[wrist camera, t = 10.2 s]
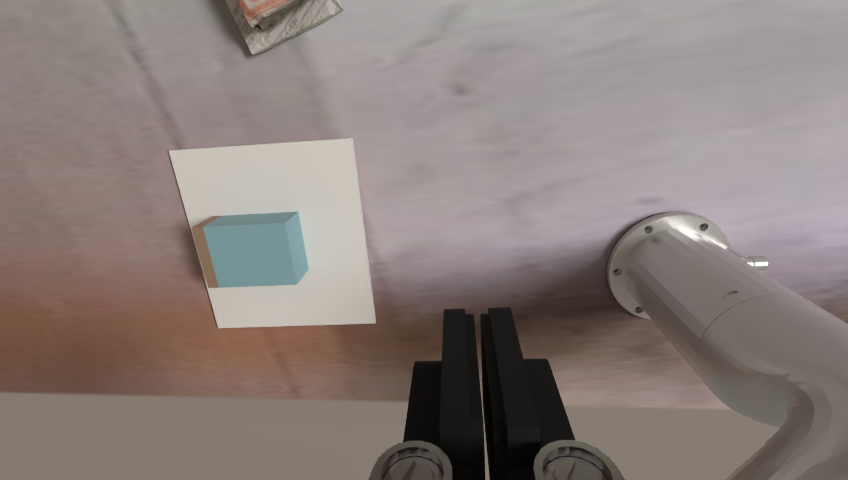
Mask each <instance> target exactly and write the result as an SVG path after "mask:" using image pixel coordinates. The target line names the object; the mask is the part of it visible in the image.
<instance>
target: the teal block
mask: <svg viewBox="0 0 848 480" xmlns="http://www.w3.org/2000/svg"><path fill="white" fill-rule="evenodd" d="M192 231H193V234H194V238H195V241H196V245H197V249H198V252H199V256H200V259H201V263H202V267H203V270H204V274H205V277H206V281H207V285H208V288H223V287H250V286H276V285H297V284H298V283H299V281H300V280H301V279H302V278H303V276H304V275H305V274H306V272H307V271H308V270H309V267H308V262H307V256H306V251H305V245H304V240H303V235H302V229H301V224H300V218H299V213H298V212H281V213H262V214H244V215H225V216H212V217H210V218H208V219H206V220H204V221H203V222H201V223H199V224H197V225H195V226H194V227H192Z"/></svg>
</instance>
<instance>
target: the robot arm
mask: <svg viewBox="0 0 848 480" xmlns="http://www.w3.org/2000/svg"><path fill="white" fill-rule="evenodd" d="M700 225H701V226H700ZM646 226H647V228H646V229H645V227H646ZM767 266H768V262H767V259H766V258H765V257H764V256H752V257H743V256H741V255H740V254H738V253H737V252H735V251H733V250H732V249H731V246H730V243H729V241H728V239H727V237H726V235H725V234H724V233H723V232H722V230H721V229H720V228H719V227H718V226H716V225H715V224H714V223H712V222H711V221H709V220H707V219H705V218H703V217H701V216H698V215H695V214H692V213H686V212H667V213H662V214H658V215H654V216H652V217H649V218H647V219H644V220H643V221H641V222H639V223H638V224H636V225H634V226H633V227H632V228H631V229H629V230H628V231H627V232H626V233H625V234H624V235H623V236H622V237H621V238H620V240H619V241H618V242H617V243H616V245H615V247H614V249H613V250H612V252H611V255H610V258H609V261H608V266H607V280H608V284H609V287H610V290H611V292H612V294H613V295H614V297H615V299H616V300H617V301H618V302H619V303H620V305H621V306H622V307H624V308H625V309H626V310H627V311H628V312H630V313H632V314H634V315H636V316H638V317H641V318H645V319H649V320H652V321H653V322H654V323H655V324H656V326H657V327H658V328H659V329H660V330H661V332H662V333H663V334H664V335H665V336H666V338H667V339H668V340H669V341H670V342H671V344H672V345H673V346H674V347H675V348H676V350H677V351H678V352H679V353H680V354H681V356H682V357H683V358H684V359H685V360H686V361H687V363H688V364H689V365H690V366H691V367H692V369H693V370H694V371H695V372H696V373H697V375H698V376H699V377H700V378H701V379H702V381H703V382H704V383H705V384H706V385H707V386H708V388H709V389H710V390H711V391H712V392H713V393H714V394H715V395H716V396H717V397H718V398H719V399H720V400H721V401H722V402H723V403H724V404H726V405H727V406H728V407H730V408H731V409H732V410H734V411H736V412H738V413H740V414H742V415H743V416H745V417H747V418H749V419H752V420H755V421H758V422H760V423H763V424H766V425H769V426H773V427H777V428H780V429H779V430H778V431H777V432H776V433H775V434H774V435H773V436H772V437H771V438H770V439H769V440H767V441H766V443H765V445H764V446H763V447H762V448H760V449H759V450H758V451H757V452H756V453H755V454H754V455H753V456H751V457H750V458H749V459H748V460H747V461H746V462H744V463H743V464H742V465H741V466H740V467H739V468H738V469H736V470H735V471H734V472H733V473H732V474H731V475H730V476H728V477H727V478H726V479H725V480H848V324H847V323H846V322H844V321H842V320H840V319H839V318H837V317H835V316H834V315H832V314H830V313H829V312H827V311H825V310H824V309H822V308H820V307H819V306H817V305H815V304H814V303H812V302H810V301H808V300H807V299H805V298H804V297H802V296H800V295H799V294H797V293H795V292H794V291H792V290H791V289H789V288H787V287H786V286H784V285H782V284H781V283H779V282H778V281H776V280H775V278H774V277H773V276H770V275H766V274H765V273H763V272H761V271H760V270H764V269H766V268H767ZM615 269H616V270H615ZM614 270H615V271H614ZM480 324H481V356H482V388H483V410H484V421H485V432H486V443H487V454H488V465H489V476H490V480H625V479H624V477H623V476H622V474H621V472H620V471H619V469H618V467H617V466H616V465H615V464H614V462H613V461H612V460H611V459H610V457H608V456H607V455H606V454H604V453H603V452H602V451H601V450H599V449H598V448H596V447H593V446H591V445H589V444H587V443H584V442H580V441H575V438H574V435H573V432H572V430H571V427H570V423H569V420H568V417H567V414H566V412H565V409H564V406H563V403H562V400H561V397H560V394H559V391H558V388H557V385H556V382H555V379H554V376H553V373H552V370H551V367H550V365H549V362H548V360H547V359H523V356H522V352H521V348H520V344H519V340H518V336H517V332H516V328H515V324H514V321H513V317H512V313H511V309H510V307H506V308H488V314H480ZM369 480H485V455H484V430H483V415H482V403H481V392H480V381H479V369H478V358H477V346H476V335H475V324H474V314H465V309H444V322H443V347H442V361H415V363H414V368H413V375H412V383H411V390H410V397H409V404H408V412H407V419H406V426H405V433H404V440H403V443H399V444H396V445H395V446H393V447H391V448H389V449H387V450H386V451H385V452H384V453H383V454H382V455H381V456H380V457H379V458H378V460H377V462H376V463H375V465H374V467H373V469H372V472H371V475H370V477H369Z"/></svg>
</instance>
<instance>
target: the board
mask: <svg viewBox="0 0 848 480" xmlns="http://www.w3.org/2000/svg"><path fill="white" fill-rule="evenodd" d="M169 154H170V157H171V161H172V164H173V168H174V172H175V175H176V179H177V182H178V186H179V189H180V193H181V197H182V200H183V204H184V207H185V211H186V215H187V218H188V222H189V225H190V229H191V232H192V236H193V240H194V243H195V247H196V250H197V254H198V257H199V261H200V265H201V268H202V272H203V275H204V279H205V282H206V286H207V290H208V293H209V297H210V300H211V304H212V308H213V311H214V315H215V318H216V322H217V325H218V328H236V327H271V326H305V325H339V324H373V323H376V316H375V308H374V300H373V292H372V285H371V277H370V269H369V261H368V254H367V246H366V238H365V230H364V223H363V215H362V207H361V199H360V192H359V184H358V176H357V168H356V161H355V153H354V145H353V138H342V139H328V140H313V141H298V142H283V143H269V144H254V145H239V146H225V147H210V148H195V149H180V150H170V151H169ZM281 212H298V213H299V218H300V224H301V229H302V235H303V240H304V245H305V251H306V256H307V262H308V267H309V270H308V271H307V272H306V274H305V275H304V276H303V278H302V279H301V280H300V281H299V283H298V284H297V285H276V286H250V287H223V288H208V285H207V281H206V277H205V274H204V270H203V267H202V263H201V259H200V256H199V252H198V249H197V245H196V241H195V238H194V234H193V231H192V227H194V226H195V225H197V224H199V223H201V222H203V221H204V220H206V219H208V218H210V217H212V216H225V215H244V214H262V213H281Z"/></svg>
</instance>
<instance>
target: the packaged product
mask: <svg viewBox="0 0 848 480" xmlns="http://www.w3.org/2000/svg"><path fill="white" fill-rule="evenodd" d="M225 2H226V4H227V6H228V8H229V10H230V12H231V14H232V16H233V18H234V20H235V22H236V24H237V26H238V28H239V30H240V32H241V34H242V36H243V37H244V39H245V41H246V43H247V45H248V47H249V49H250V51H251V53H252V55H254V54H258V53H261V52H264V51H266V50H269V49H271V48H273V47H275V46H276V45H278V44H280V43H282V42H284V41H286V40H287V39H289V38H291V37H294V36H296V35H298V34H300V33H302V32H304V31H306V30H309V29H311V28H313V27H315V26H317V25H319V24H321V23H324V22H325V21H327V20H329V19H330V18H332V17H333V16H335V15H336V14H338V13H339V12H341V11H342V10H343V8H342V6H341V3H340V1H339V0H225Z"/></svg>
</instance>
